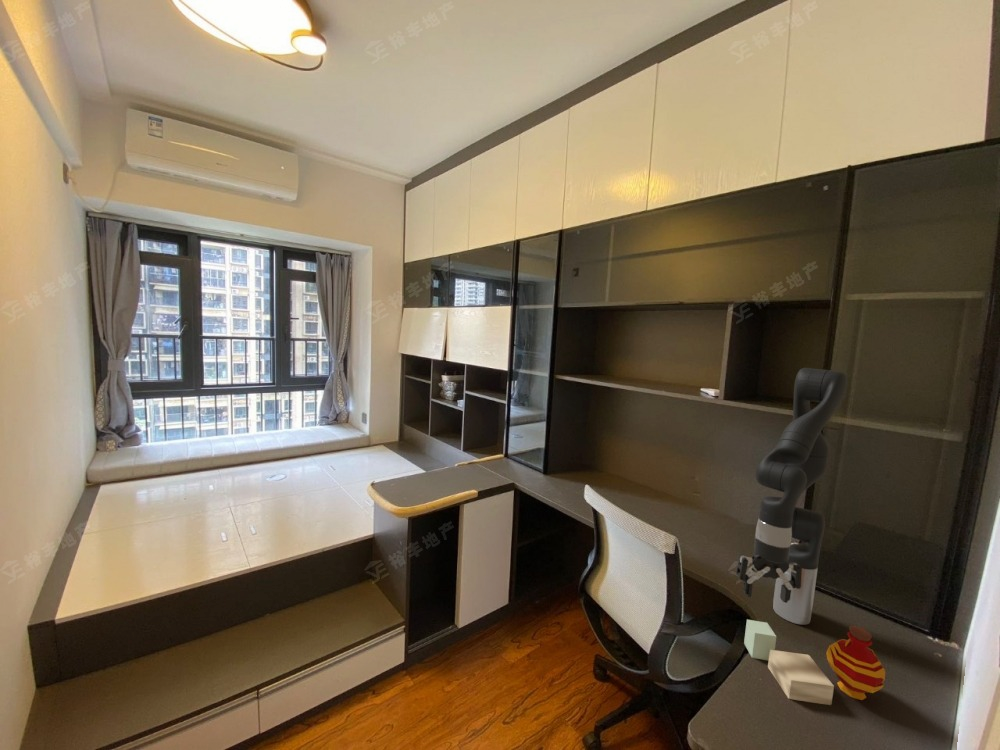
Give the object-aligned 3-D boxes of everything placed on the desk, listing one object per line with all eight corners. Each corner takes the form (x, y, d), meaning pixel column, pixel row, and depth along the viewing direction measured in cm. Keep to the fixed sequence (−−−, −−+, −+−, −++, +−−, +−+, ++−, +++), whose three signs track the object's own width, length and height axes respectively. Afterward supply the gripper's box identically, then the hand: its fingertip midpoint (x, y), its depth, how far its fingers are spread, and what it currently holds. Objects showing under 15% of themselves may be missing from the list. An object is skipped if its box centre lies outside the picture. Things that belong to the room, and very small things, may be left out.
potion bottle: (852, 671, 100) (860, 616, 99) (893, 710, 90) (904, 649, 88) (812, 671, 100) (819, 615, 98) (849, 709, 89) (858, 648, 88)
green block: (744, 643, 108) (746, 619, 107) (764, 646, 107) (767, 622, 106) (752, 657, 103) (755, 632, 102) (773, 661, 102) (776, 636, 102)
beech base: (767, 667, 100) (769, 649, 100) (806, 673, 99) (808, 654, 99) (788, 699, 92) (791, 680, 91) (831, 706, 90) (834, 686, 90)
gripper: (795, 535, 104) (787, 593, 106) (736, 528, 107) (730, 584, 108) (812, 550, 97) (804, 612, 98) (748, 541, 100) (741, 602, 101)
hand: (765, 597), depth 103 cm, fingers open, 8 cm apart
